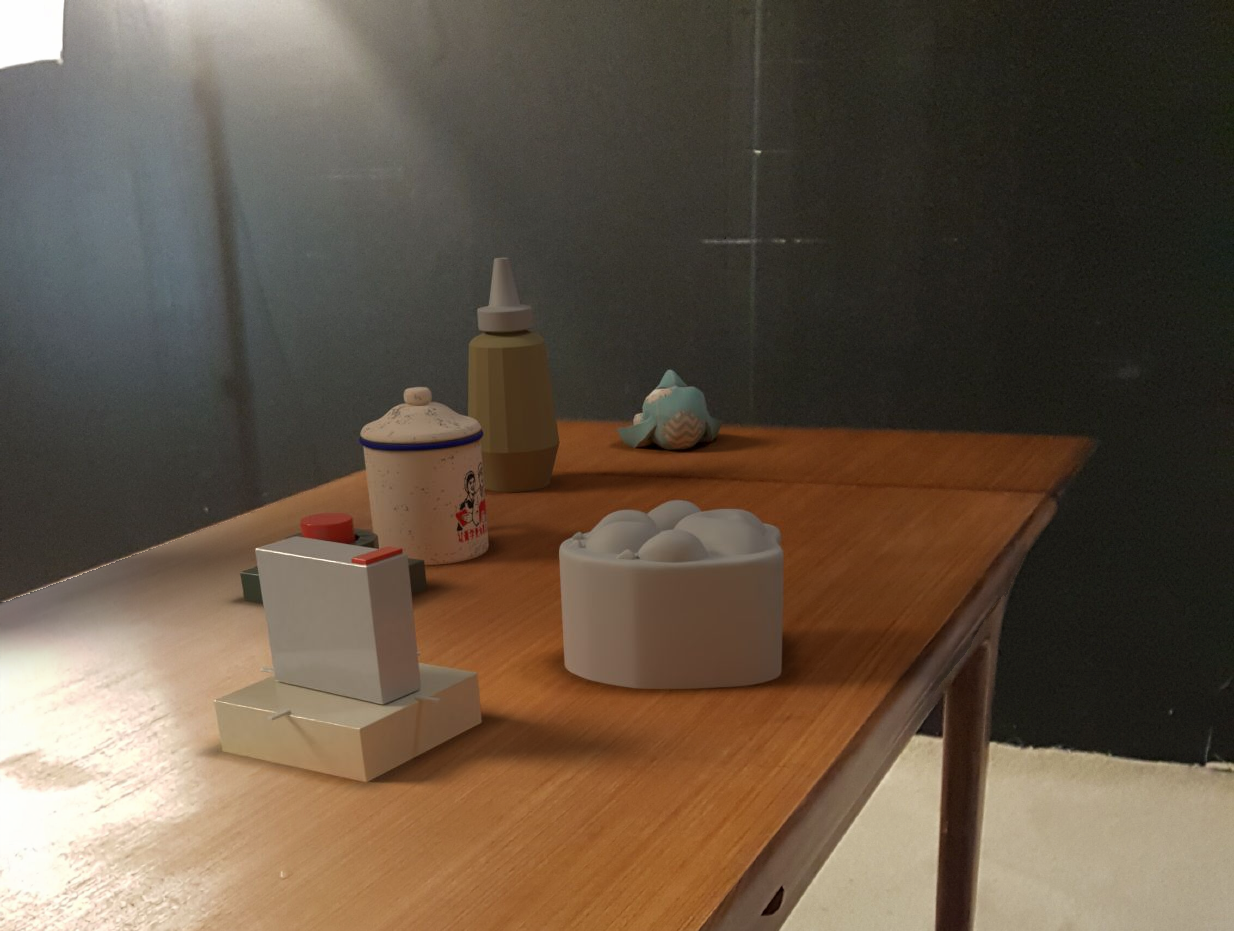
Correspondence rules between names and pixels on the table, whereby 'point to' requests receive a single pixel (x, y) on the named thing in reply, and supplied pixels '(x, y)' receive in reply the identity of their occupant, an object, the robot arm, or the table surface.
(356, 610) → the tap lever
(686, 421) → the stuffed animal
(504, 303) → the squeeze bottle
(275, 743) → the panel
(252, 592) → the button box
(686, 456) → the table surface
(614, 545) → the lumpy-topped squat cylinder
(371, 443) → the teacup with lid
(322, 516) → the red button
